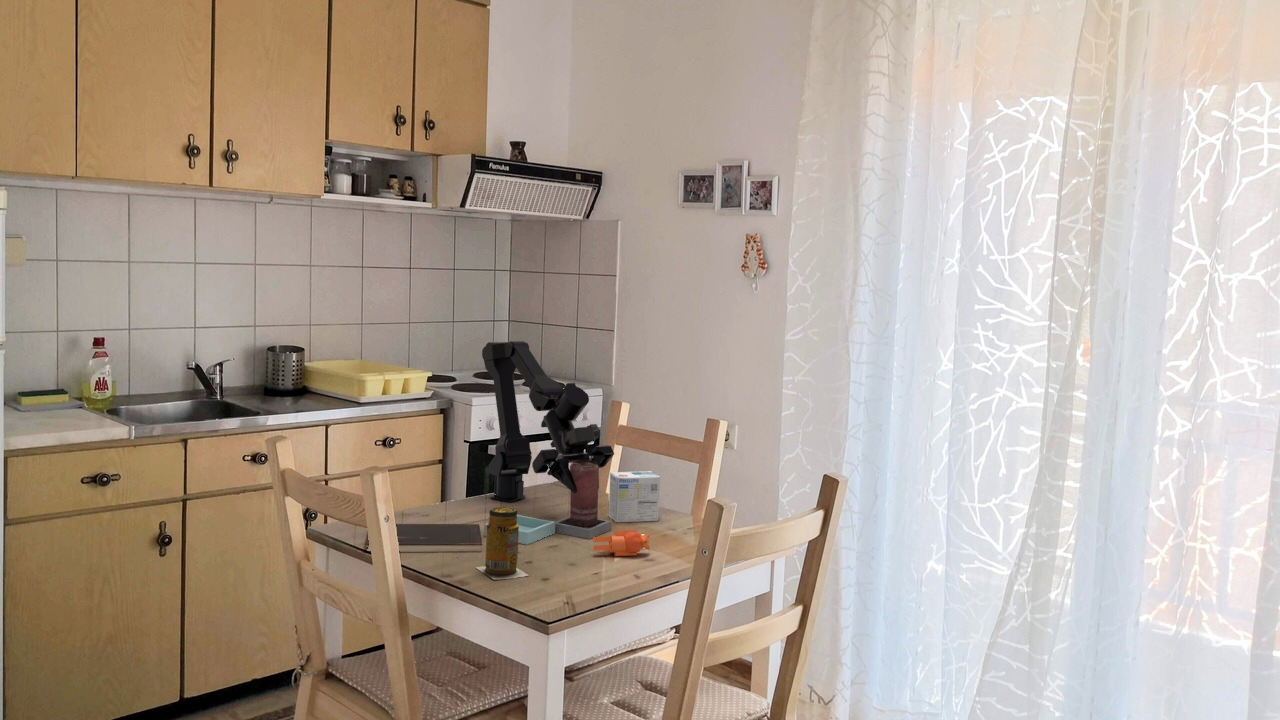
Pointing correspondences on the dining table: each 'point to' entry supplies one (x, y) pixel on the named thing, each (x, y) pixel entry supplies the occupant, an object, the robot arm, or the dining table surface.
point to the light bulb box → (634, 496)
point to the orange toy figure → (623, 543)
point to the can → (584, 494)
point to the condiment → (502, 545)
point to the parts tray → (531, 529)
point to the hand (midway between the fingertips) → (586, 490)
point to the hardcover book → (438, 537)
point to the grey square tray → (567, 528)
